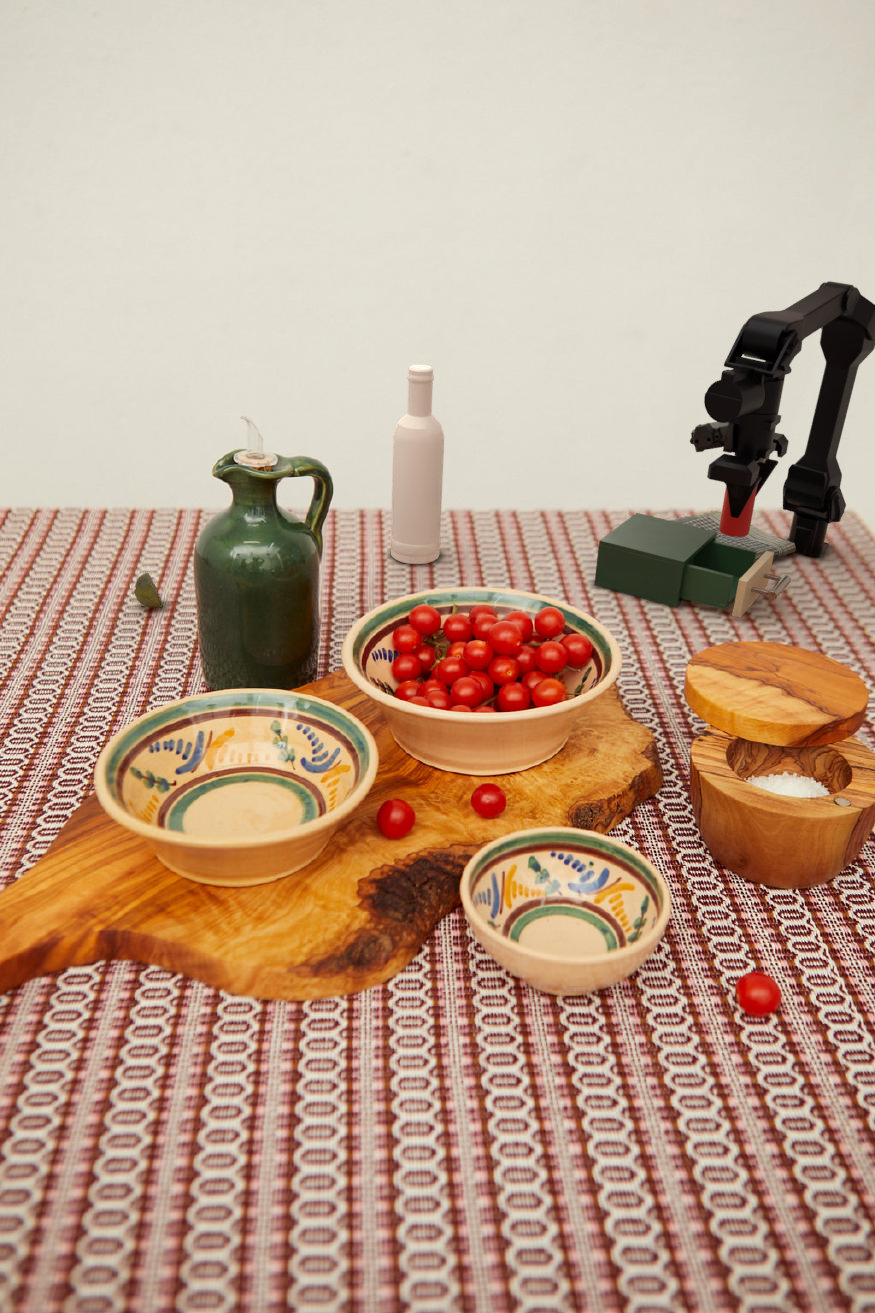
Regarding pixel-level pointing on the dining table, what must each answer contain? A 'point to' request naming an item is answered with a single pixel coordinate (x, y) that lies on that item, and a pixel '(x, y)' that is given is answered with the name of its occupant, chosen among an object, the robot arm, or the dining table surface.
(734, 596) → the drawer
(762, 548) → the dish towel
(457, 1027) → the dining table surface
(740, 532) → the sauce bottle
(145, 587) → the lime
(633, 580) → the dark green box
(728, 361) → the robot arm
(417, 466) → the bottle
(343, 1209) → the dining table surface
